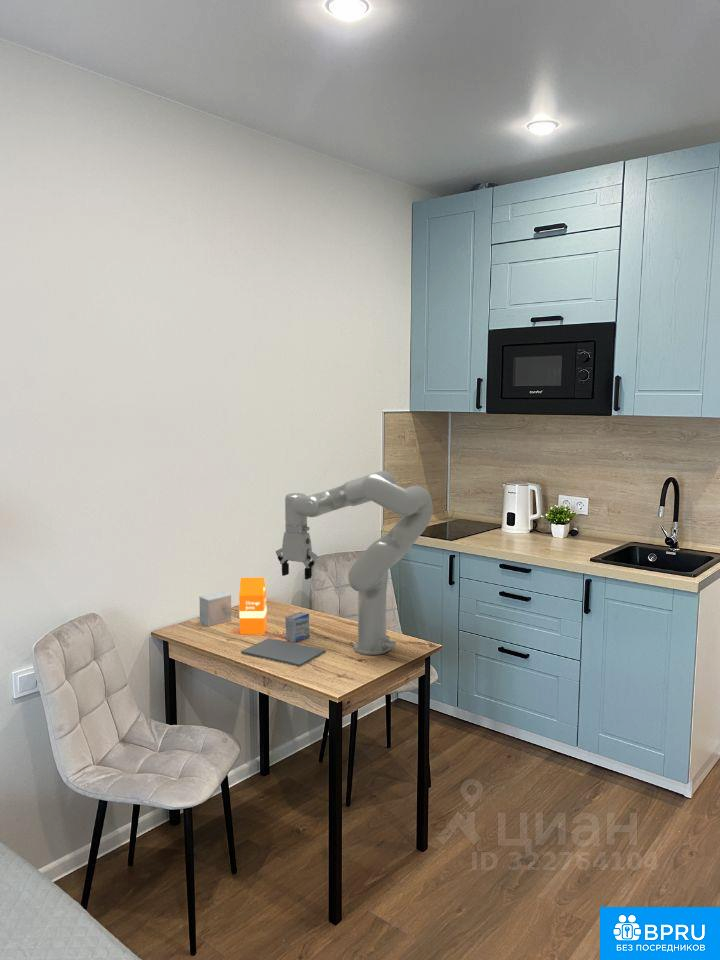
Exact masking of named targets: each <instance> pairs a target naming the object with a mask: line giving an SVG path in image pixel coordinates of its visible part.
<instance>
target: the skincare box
mask: <svg viewBox="0 0 720 960" xmlns="http://www.w3.org/2000/svg"><path fill="white" fill-rule="evenodd" d="M228 621H229V622H232V595H231V594H229V593H228V592H225V591H219V592H215V593H209V594H205V595H201V596H199V623H200V624H201V625H204V626H206V627H208V626H209V627H212V625H213V626H216V624H217V625H220V623H221V624H224V622H225V623H228Z"/></svg>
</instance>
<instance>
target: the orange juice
mask: <svg viewBox="0 0 720 960" xmlns="http://www.w3.org/2000/svg"><path fill="white" fill-rule="evenodd" d="M265 580H266V579H265V577H240V581H239V595H238V597H239V598H238V600H239V604H238V605H239V634H240V635H265V632H266V631H267V628H268V626H267V625H268V623H267V622H268V621H267V618H268V617H267V616H268V615H267V612H268V611H267V589H266V581H265ZM265 630H266V631H265Z"/></svg>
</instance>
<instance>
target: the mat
mask: <svg viewBox="0 0 720 960" xmlns="http://www.w3.org/2000/svg"><path fill="white" fill-rule="evenodd" d="M241 653H242V655H246V656H250V655H251V656H252V657H255V656H256V657H255V658H259V657H261V658H260V659H263V658H266V659H265V660H268V659H270V660H269V661H272V660H274V662H277V661H279V662H278V663H281V662H283V663H282V664H286V663H287V664H286V665H290V664H291V665H290V666H294V665H296V667H299V666H301V667H302V666H304V665H306V664H308V663H309V662H311V661H313V660H315V659H316V658H318V657H320V656H321V654H322V655H323V654H325V653H326V649H323V648H318V647H314V646H309V645H303V644H299V643H295V642H291V641H285V640H281V639H275V638H270V637H268V638H266V639H263V640H262V641H260V642H258V643H255V644H253V645H250V646H248V647H246V648H244V649H243V650H240V654H241ZM314 658H315V659H314ZM312 659H313V660H312ZM307 662H308V663H307ZM305 663H306V664H305ZM303 664H304V665H303Z"/></svg>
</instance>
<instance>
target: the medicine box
mask: <svg viewBox="0 0 720 960" xmlns="http://www.w3.org/2000/svg"><path fill="white" fill-rule="evenodd" d="M309 637H310V614H309V613H307V612H303V611H300V612H297V613H293V614H291V615H288V616H285V640H286V641H287V640H288V641H287V642H291V641H292V642H291V643H295V642H296V643H298V642H300V641H302V639H303V640H304V638H305V639H308V638H309ZM299 640H300V641H299ZM297 641H298V642H297Z"/></svg>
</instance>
